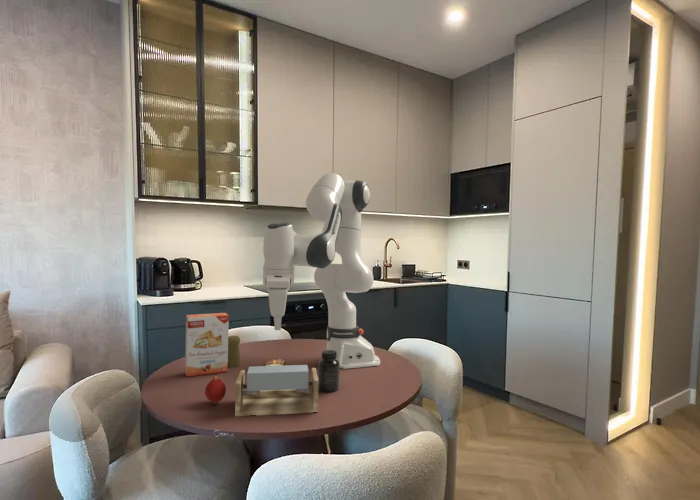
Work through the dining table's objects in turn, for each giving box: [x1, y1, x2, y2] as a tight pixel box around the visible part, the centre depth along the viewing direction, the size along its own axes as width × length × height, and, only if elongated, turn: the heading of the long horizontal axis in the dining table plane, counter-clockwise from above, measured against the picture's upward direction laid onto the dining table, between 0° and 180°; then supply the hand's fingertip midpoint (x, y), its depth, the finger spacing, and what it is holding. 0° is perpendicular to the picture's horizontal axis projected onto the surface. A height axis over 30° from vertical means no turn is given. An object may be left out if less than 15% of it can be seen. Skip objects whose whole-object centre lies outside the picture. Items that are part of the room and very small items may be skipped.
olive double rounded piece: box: [228, 335, 242, 368], centre depth 150 cm, size 6×6×11 cm
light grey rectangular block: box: [246, 364, 310, 391], centre depth 113 cm, size 17×6×5 cm, turn 99°
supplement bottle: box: [317, 350, 341, 393], centre depth 128 cm, size 7×7×12 cm
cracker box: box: [184, 312, 230, 377], centre depth 141 cm, size 14×6×21 cm, turn 118°
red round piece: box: [204, 376, 227, 405], centre depth 114 cm, size 6×6×8 cm
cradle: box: [234, 367, 319, 417], centre depth 113 cm, size 22×11×9 cm, turn 99°
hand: (278, 326), depth 114 cm, fingers open, 8 cm apart
